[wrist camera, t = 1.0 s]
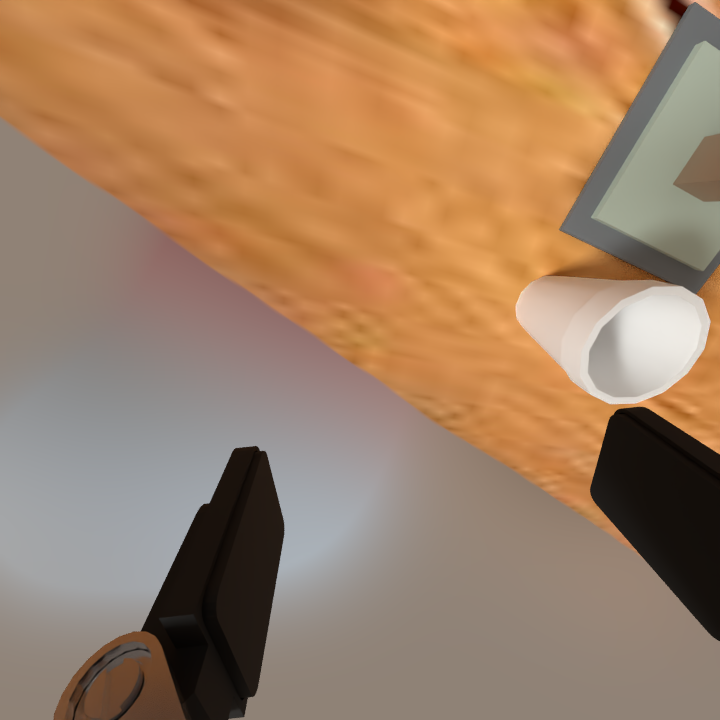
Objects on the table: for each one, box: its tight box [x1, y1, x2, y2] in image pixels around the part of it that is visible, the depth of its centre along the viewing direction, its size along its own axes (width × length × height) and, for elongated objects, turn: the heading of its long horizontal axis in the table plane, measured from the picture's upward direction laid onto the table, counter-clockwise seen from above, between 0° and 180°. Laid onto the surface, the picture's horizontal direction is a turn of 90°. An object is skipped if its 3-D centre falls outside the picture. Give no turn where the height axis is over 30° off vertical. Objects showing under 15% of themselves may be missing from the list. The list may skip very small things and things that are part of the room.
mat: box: [559, 2, 720, 294], centre depth 31 cm, size 18×18×1 cm
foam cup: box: [516, 276, 710, 404], centre depth 30 cm, size 10×9×13 cm
